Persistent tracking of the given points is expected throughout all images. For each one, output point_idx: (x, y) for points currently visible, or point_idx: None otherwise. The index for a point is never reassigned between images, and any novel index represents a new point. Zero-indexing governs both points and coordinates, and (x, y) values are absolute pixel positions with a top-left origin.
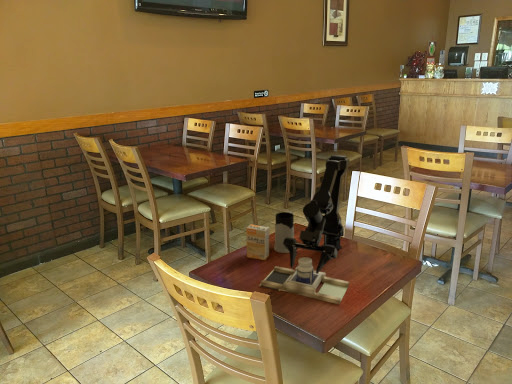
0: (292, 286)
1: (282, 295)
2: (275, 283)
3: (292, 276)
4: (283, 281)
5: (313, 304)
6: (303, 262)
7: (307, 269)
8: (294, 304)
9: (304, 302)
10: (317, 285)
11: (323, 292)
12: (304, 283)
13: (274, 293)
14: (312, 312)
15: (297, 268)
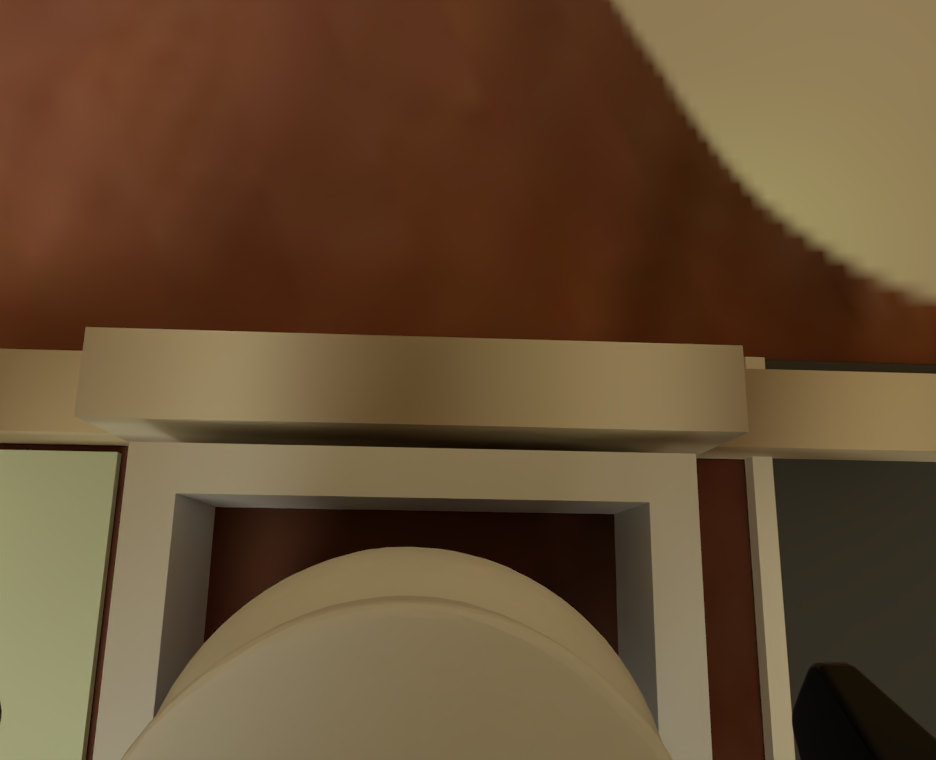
0: (545, 346)
1: (643, 263)
2: (893, 427)
3: (690, 682)
4: None
5: (119, 214)
6: (407, 676)
7: (256, 633)
8: (389, 115)
9: (264, 213)
10: None
11: (12, 603)
12: (342, 493)
13: (777, 268)
14: (91, 32)
15: (613, 653)
